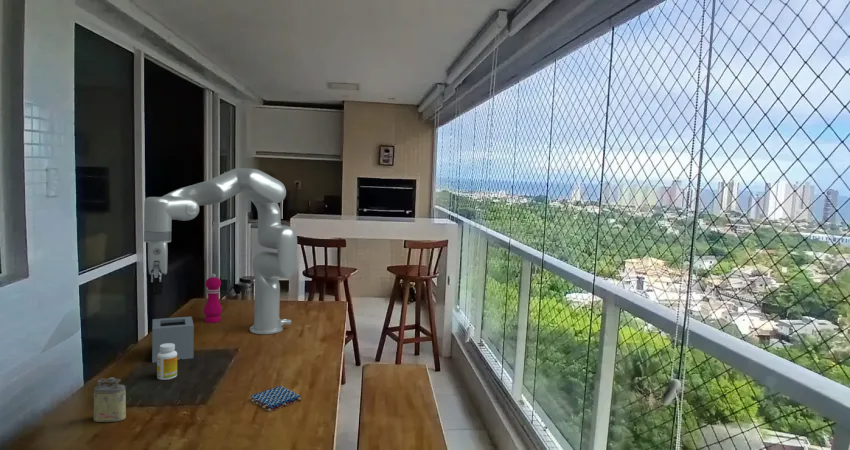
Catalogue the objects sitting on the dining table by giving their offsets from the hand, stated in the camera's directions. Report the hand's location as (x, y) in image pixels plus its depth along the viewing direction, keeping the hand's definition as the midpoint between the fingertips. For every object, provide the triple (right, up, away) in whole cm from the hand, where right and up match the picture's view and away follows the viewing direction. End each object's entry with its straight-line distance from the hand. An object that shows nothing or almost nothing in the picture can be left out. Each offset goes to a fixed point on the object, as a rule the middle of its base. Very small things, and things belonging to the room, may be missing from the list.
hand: (156, 291), depth 156 cm
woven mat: (+42, -28, -18) cm, 54 cm away
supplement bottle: (+6, -25, -6) cm, 26 cm away
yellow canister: (+6, -27, -33) cm, 43 cm away
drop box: (-1, -23, +12) cm, 26 cm away
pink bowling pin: (-5, -20, +53) cm, 57 cm away
